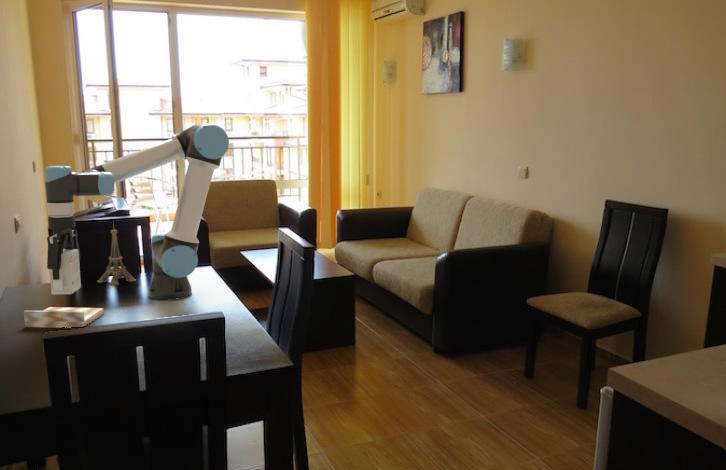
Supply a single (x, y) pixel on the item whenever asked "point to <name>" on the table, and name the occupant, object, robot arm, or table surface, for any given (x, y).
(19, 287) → the table surface
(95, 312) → the shelf board
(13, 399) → the table surface
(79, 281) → the small box
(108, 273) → the eiffel tower
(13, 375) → the table surface
